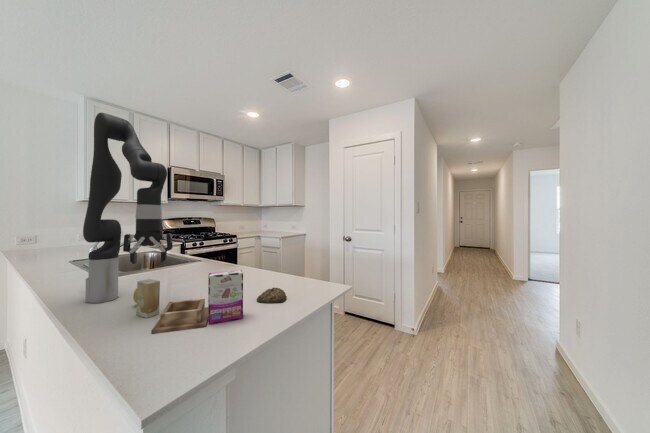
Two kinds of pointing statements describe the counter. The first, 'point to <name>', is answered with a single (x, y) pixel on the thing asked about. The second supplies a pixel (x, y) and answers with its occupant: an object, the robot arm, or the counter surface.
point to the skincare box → (148, 298)
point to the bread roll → (272, 296)
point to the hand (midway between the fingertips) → (148, 262)
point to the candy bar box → (225, 296)
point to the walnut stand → (182, 316)
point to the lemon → (135, 296)
